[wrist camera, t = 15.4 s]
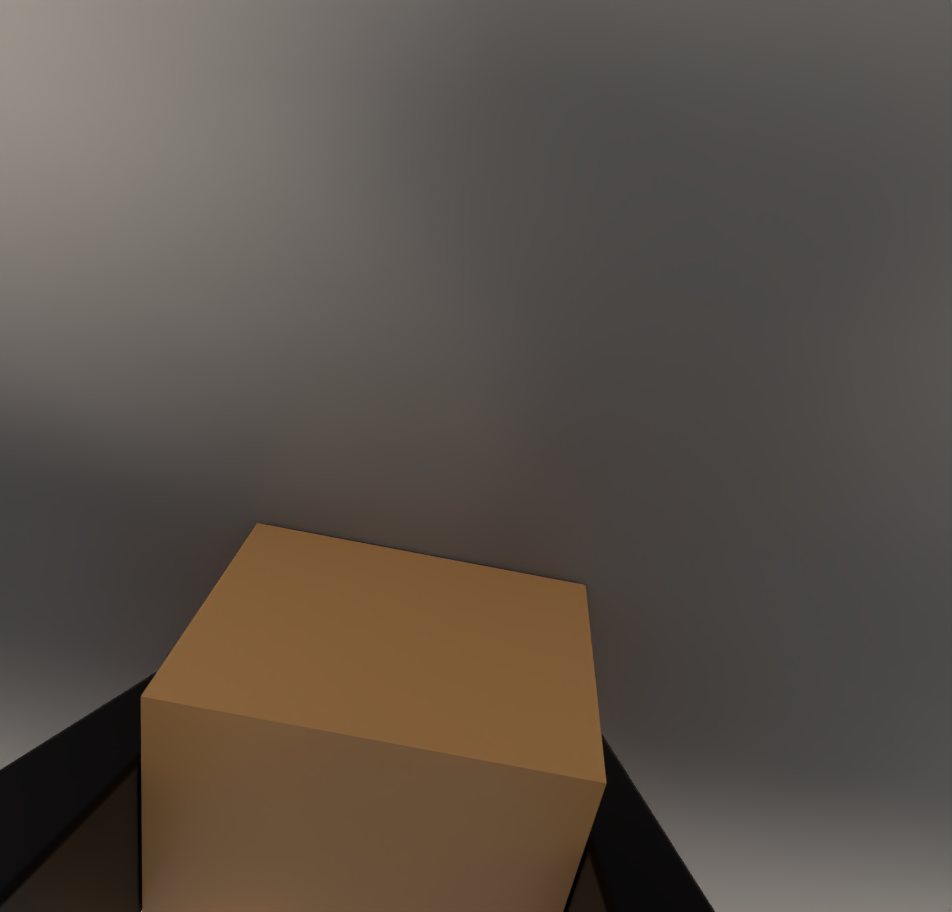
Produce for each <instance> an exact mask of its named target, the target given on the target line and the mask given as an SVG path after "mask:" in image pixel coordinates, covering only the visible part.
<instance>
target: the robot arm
mask: <svg viewBox="0 0 952 912" xmlns="http://www.w3.org/2000/svg"><path fill="white" fill-rule="evenodd" d="M156 673H157V672H155V673H153V674H152V675H150V676H149V677H147V678H146V679H144V680H142V681H141V682H139V683H138V684H136V685H134V686H133V687H131V688H130V689H128V690H126V691H125V692H123V693H122V694H120V695H119V696H117V697H115V698H114V699H112V700H111V701H109V702H107V703H106V704H104V705H103V706H101V707H99V708H98V709H96V710H95V711H93V712H91V713H90V714H88V715H87V716H85V717H84V718H82V719H80V720H79V721H77V722H76V723H74V724H72V725H71V726H69V727H68V728H66V729H64V730H63V731H61V732H60V733H58V734H56V735H55V736H53V737H52V738H50V739H49V740H47V741H45V742H44V743H42V744H41V745H39V746H37V747H36V748H34V749H33V750H31V751H29V752H28V753H26V754H25V755H23V756H22V757H20V758H18V759H17V760H15V761H14V762H12V763H10V764H9V765H7V766H6V767H4V768H2V769H1V770H0V912H141V911H142V796H141V695H142V694H143V692H144V691H145V689H146V688H147V686H148V685H149V683H150V682H151V680H152V679H153V677H154V676H155V674H156ZM601 736H602V745H603V755H604V764H605V774H606V786H605V789H604V792H603V795H602V798H601V801H600V804H599V807H598V810H597V813H596V816H595V819H594V822H593V825H592V828H591V831H590V834H589V837H588V840H587V843H586V845H585V848H584V851H583V854H582V857H581V860H580V863H579V866H578V869H577V872H576V875H575V878H574V881H573V884H572V887H571V890H570V893H569V896H568V899H567V902H566V905H565V907H564V910H563V912H715V911H714V909H713V908H712V906H711V905H710V903H709V901H708V900H707V898H706V897H705V895H704V894H703V892H702V890H701V889H700V887H699V886H698V884H697V882H696V881H695V879H694V878H693V876H692V875H691V873H690V871H689V870H688V868H687V867H686V865H685V864H684V862H683V860H682V859H681V857H680V856H679V854H678V853H677V851H676V849H675V848H674V846H673V845H672V843H671V842H670V840H669V838H668V837H667V835H666V834H665V832H664V831H663V829H662V827H661V826H660V824H659V823H658V821H657V820H656V818H655V816H654V815H653V813H652V812H651V810H650V808H649V807H648V805H647V804H646V802H645V801H644V799H643V797H642V796H641V794H640V793H639V791H638V790H637V788H636V786H635V785H634V783H633V782H632V780H631V779H630V777H629V775H628V774H627V772H626V771H625V769H624V768H623V766H622V764H621V763H620V761H619V760H618V758H617V757H616V755H615V753H614V752H613V750H612V749H611V747H610V746H609V744H608V742H607V741H606V739H605V738H604V736H603V735H602V733H601Z"/></svg>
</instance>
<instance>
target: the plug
mask: <svg viewBox="0 0 952 912" xmlns="http://www.w3.org/2000/svg"><path fill="white" fill-rule="evenodd" d="M605 786H606V774H605V764H604V755H603V745H602V736H601V726H600V717H599V707H598V698H597V688H596V679H595V669H594V660H593V650H592V641H591V632H590V622H589V613H588V603H587V594H586V585H583V584H578V583H572V582H567V581H562V580H556V579H551V578H546V577H541V576H535V575H530V574H525V573H519V572H514V571H509V570H503V569H498V568H493V567H488V566H482V565H477V564H472V563H466V562H461V561H456V560H451V559H445V558H440V557H435V556H429V555H424V554H419V553H413V552H408V551H403V550H398V549H392V548H387V547H382V546H376V545H371V544H366V543H361V542H355V541H350V540H345V539H339V538H334V537H329V536H323V535H318V534H313V533H308V532H302V531H297V530H292V529H286V528H281V527H276V526H271V525H265V524H260V523H257V524H256V525H255V527H254V528H253V530H252V531H251V533H250V534H249V536H248V537H247V539H246V540H245V542H244V543H243V545H242V546H241V548H240V549H239V551H238V552H237V554H236V555H235V557H234V558H233V560H232V561H231V563H230V564H229V566H228V567H227V569H226V570H225V572H224V573H223V575H222V576H221V578H220V579H219V581H218V582H217V584H216V585H215V587H214V588H213V589H212V591H211V592H210V594H209V595H208V597H207V598H206V600H205V601H204V603H203V604H202V606H201V607H200V609H199V610H198V612H197V613H196V615H195V616H194V618H193V619H192V621H191V622H190V624H189V625H188V627H187V628H186V630H185V631H184V633H183V634H182V636H181V637H180V639H179V640H178V642H177V643H176V645H175V646H174V648H173V649H172V651H171V652H170V654H169V655H168V657H167V658H166V660H165V661H164V663H163V664H162V665H161V667H160V668H159V670H158V671H157V673H156V674H155V676H154V677H153V679H152V680H151V682H150V683H149V685H148V686H147V688H146V689H145V691H144V692H143V694H142V695H141V796H142V912H563V910H564V907H565V905H566V902H567V899H568V896H569V893H570V890H571V887H572V884H573V881H574V878H575V875H576V872H577V869H578V866H579V863H580V860H581V857H582V854H583V851H584V848H585V845H586V843H587V840H588V837H589V834H590V831H591V828H592V825H593V822H594V819H595V816H596V813H597V810H598V807H599V804H600V801H601V798H602V795H603V792H604V789H605Z"/></svg>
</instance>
